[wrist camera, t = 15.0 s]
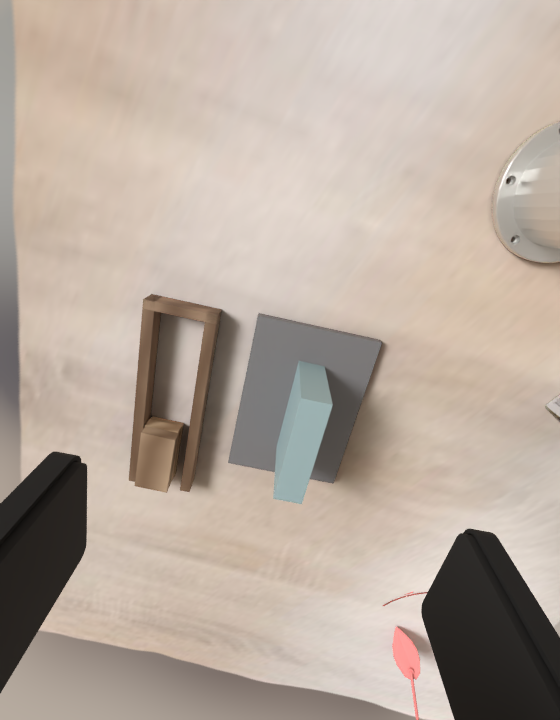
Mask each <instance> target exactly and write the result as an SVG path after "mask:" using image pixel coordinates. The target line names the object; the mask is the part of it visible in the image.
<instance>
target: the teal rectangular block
mask: <svg viewBox="0 0 560 720" xmlns="http://www.w3.org/2000/svg"><path fill="white" fill-rule="evenodd" d="M332 406H333V404H332V399H331V394H330V390H329V385H328V380H327V376H326V371H325V366H321V365H316V364H311V363H307V362H302V361H299V362H298V366H297V370H296V374H295V378H294V382H293V385H292V389H291V393H290V397H289V401H288V405H287V409H286V412H285V416H284V420H283V424H282V428H281V432H280V435H279V439H278V443H277V447H276V464H275V480H274V497H273V499H278V500H283V501H288V502H293V503H298V504H302V501H303V498H304V495H305V492H306V489H307V485H308V482H309V479H310V476H311V473H312V470H313V466H314V463H315V460H316V457H317V454H318V450H319V447H320V444H321V441H322V438H323V434H324V431H325V428H326V425H327V422H328V418H329V415H330V412H331V409H332Z"/></svg>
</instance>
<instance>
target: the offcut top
mask: <svg viewBox="0 0 560 720" xmlns="http://www.w3.org/2000/svg"><path fill="white" fill-rule="evenodd" d="M178 435H179V433H176V432H171V431H167V430H162V429H158V428H153V427H149V426H145V428H144V429H143V431H142V432H141V437H140V446H139V454H138V462H137V470H136V479H135V486H137V487H142V488H147V489H152V490H157V491H162V492H166V493H167V491H168V488H169V486H170V482H171V477H172V471H173V465H174V459H175V453H176V447H177V441H178Z"/></svg>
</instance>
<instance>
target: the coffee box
mask: <svg viewBox="0 0 560 720" xmlns="http://www.w3.org/2000/svg"><path fill="white" fill-rule="evenodd" d="M545 408H546V409H547V410H548V411H549V412H550V413H551V414H552V415H553V416H554V417H555V418H556V419H557V420H558V421H559V422H560V395H558V396H557V397H556V398H554V399H553V400H552V401H550V402H549V403H548V404H546V406H545Z"/></svg>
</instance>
